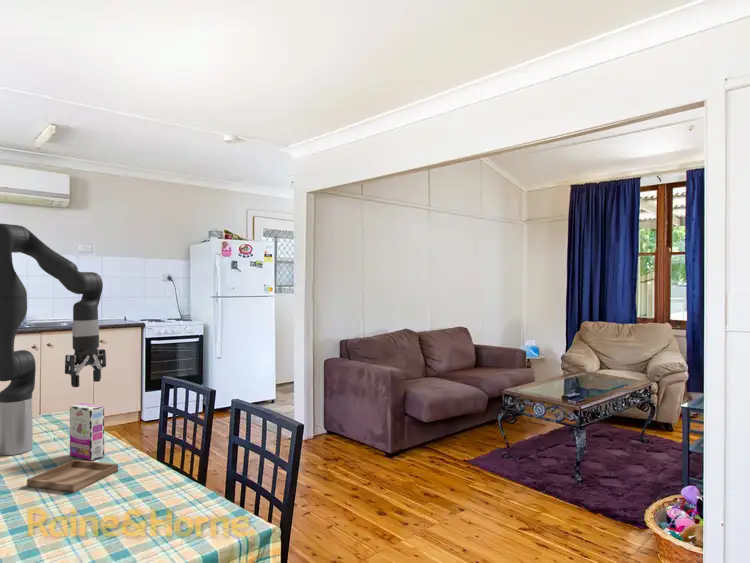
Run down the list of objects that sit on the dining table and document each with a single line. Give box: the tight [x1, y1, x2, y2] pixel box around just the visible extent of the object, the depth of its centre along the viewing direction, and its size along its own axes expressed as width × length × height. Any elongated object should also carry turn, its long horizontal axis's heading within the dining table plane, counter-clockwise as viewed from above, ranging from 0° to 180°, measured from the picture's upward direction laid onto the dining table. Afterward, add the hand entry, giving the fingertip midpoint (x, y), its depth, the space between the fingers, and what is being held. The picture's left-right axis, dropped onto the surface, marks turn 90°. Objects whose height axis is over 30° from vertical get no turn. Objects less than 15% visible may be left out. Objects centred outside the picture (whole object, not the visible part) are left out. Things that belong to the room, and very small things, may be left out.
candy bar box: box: [69, 402, 105, 462], centre depth 167 cm, size 11×5×16 cm, turn 62°
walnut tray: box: [26, 459, 119, 494], centre depth 149 cm, size 16×16×2 cm
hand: (86, 384), depth 167 cm, fingers open, 8 cm apart
